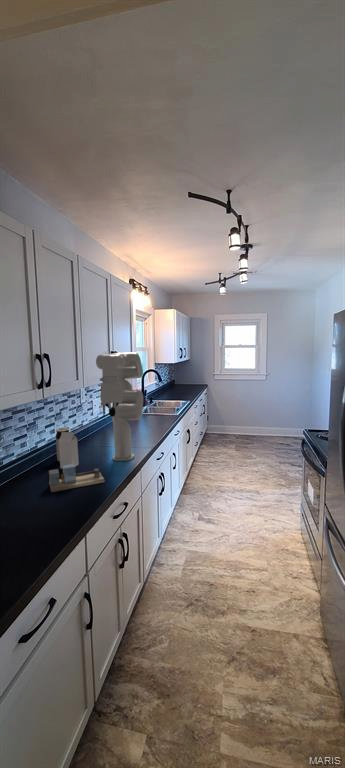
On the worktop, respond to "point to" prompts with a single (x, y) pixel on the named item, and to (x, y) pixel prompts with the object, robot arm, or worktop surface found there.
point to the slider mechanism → (81, 480)
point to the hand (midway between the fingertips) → (112, 416)
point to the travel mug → (59, 438)
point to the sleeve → (69, 473)
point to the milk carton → (68, 449)
